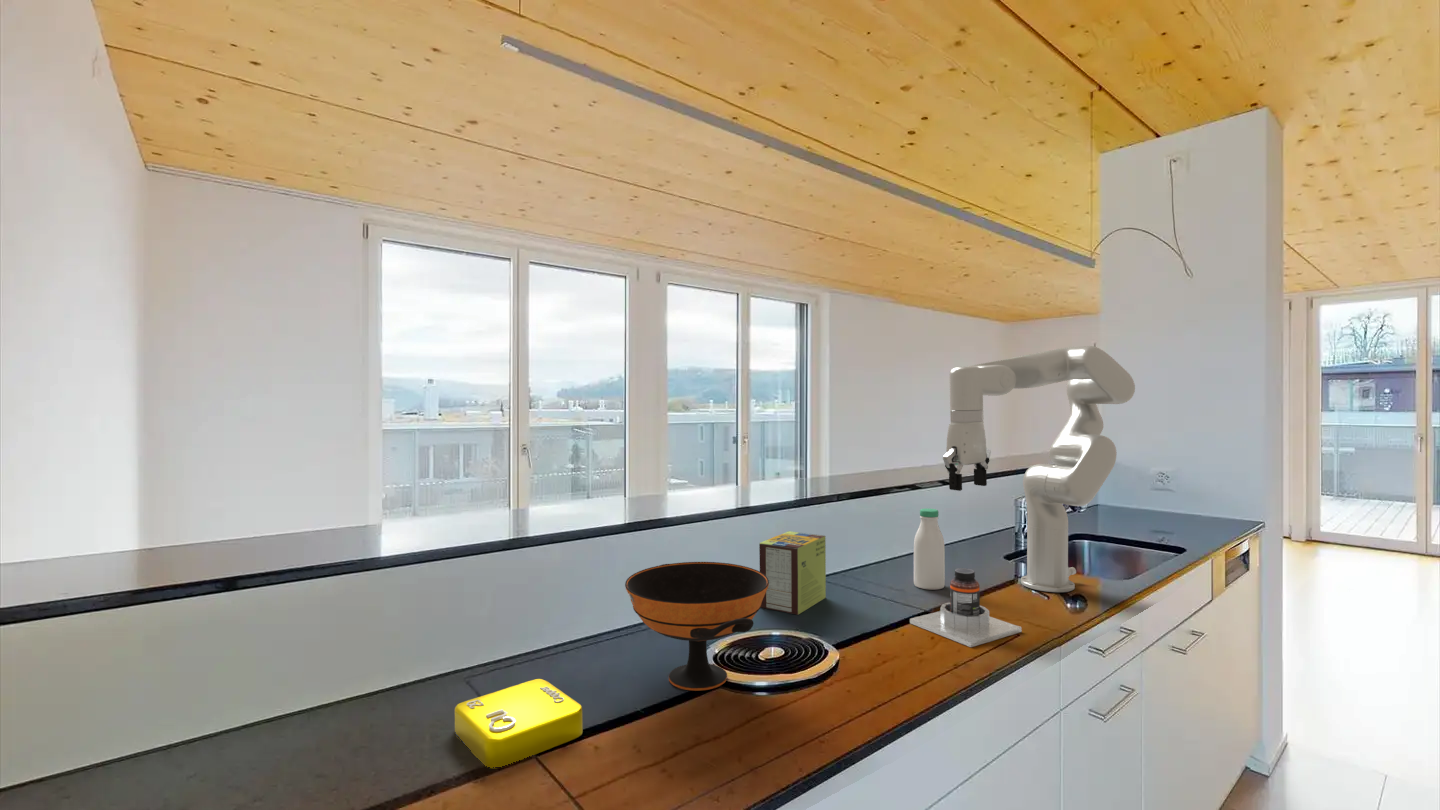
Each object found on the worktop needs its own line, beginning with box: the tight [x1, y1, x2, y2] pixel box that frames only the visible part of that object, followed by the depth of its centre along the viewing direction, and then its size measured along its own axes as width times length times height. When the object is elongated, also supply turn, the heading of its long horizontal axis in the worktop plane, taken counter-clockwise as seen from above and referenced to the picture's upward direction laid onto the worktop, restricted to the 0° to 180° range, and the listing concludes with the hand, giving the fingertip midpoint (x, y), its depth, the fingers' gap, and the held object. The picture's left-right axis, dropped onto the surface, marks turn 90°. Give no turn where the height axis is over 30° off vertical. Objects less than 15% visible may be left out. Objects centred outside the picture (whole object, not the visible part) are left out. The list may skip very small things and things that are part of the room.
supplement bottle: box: [949, 567, 981, 615], centre depth 143 cm, size 6×6×11 cm
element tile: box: [454, 678, 584, 769], centre depth 100 cm, size 15×15×5 cm
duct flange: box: [909, 601, 1022, 648], centre depth 143 cm, size 16×16×4 cm
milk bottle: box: [913, 508, 946, 591], centre depth 173 cm, size 8×8×20 cm
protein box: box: [758, 530, 827, 616], centre depth 160 cm, size 10×15×16 cm
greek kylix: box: [624, 561, 769, 692], centre depth 118 cm, size 36×26×18 cm
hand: (968, 487), depth 162 cm, fingers open, 9 cm apart
